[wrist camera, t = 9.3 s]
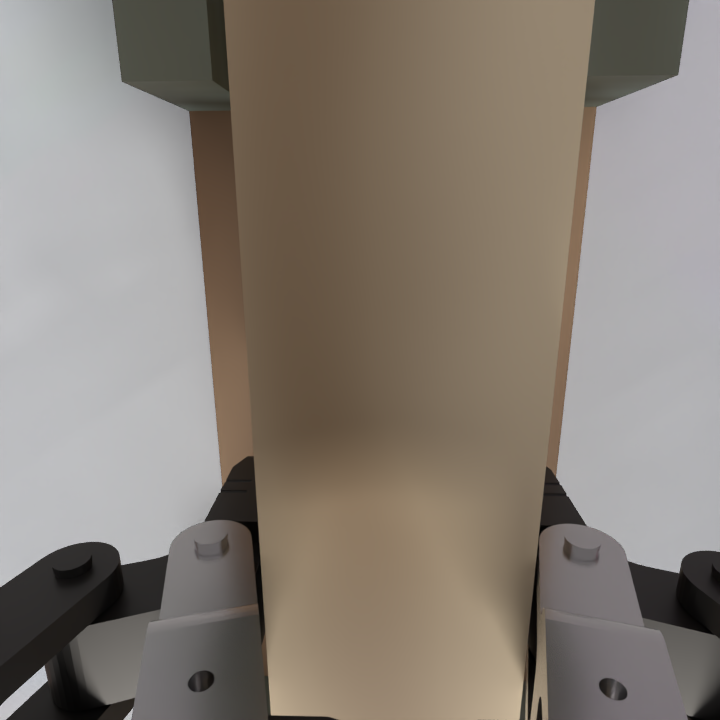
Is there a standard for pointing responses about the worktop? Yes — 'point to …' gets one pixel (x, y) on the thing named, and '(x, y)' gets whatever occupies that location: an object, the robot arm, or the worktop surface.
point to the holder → (217, 172)
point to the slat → (402, 335)
